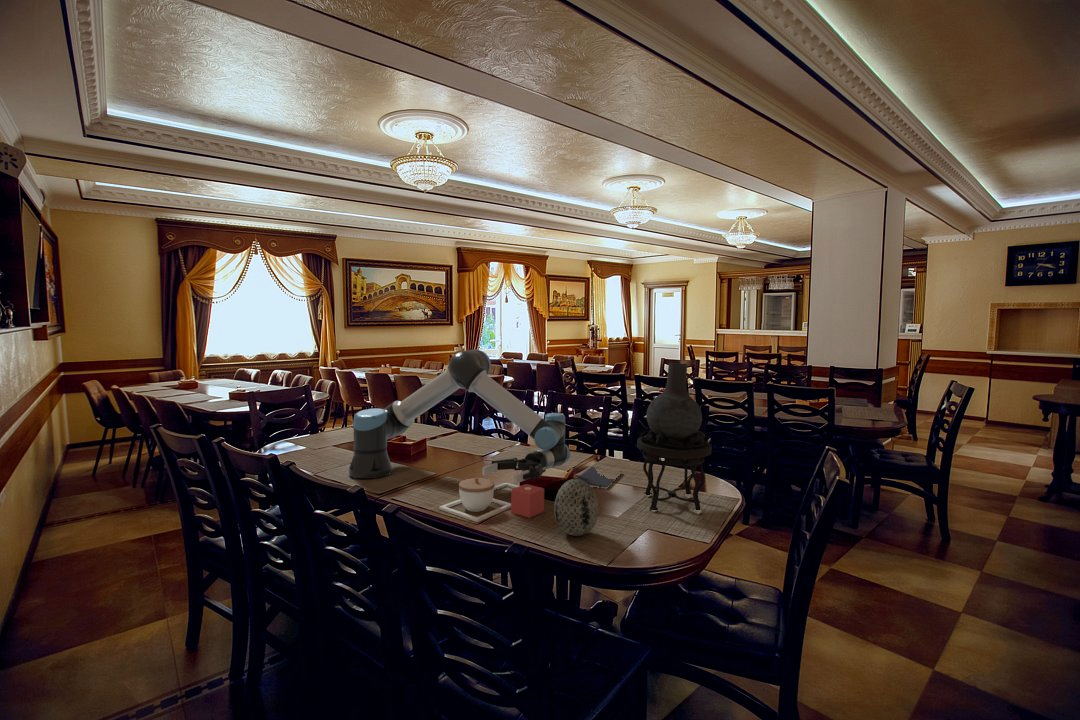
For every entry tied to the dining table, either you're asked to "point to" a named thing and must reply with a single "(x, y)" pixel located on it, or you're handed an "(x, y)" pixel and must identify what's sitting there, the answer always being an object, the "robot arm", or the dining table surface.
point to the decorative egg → (576, 507)
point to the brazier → (674, 436)
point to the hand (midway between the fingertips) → (498, 475)
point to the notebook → (595, 479)
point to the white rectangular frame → (482, 517)
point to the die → (527, 500)
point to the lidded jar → (476, 493)
